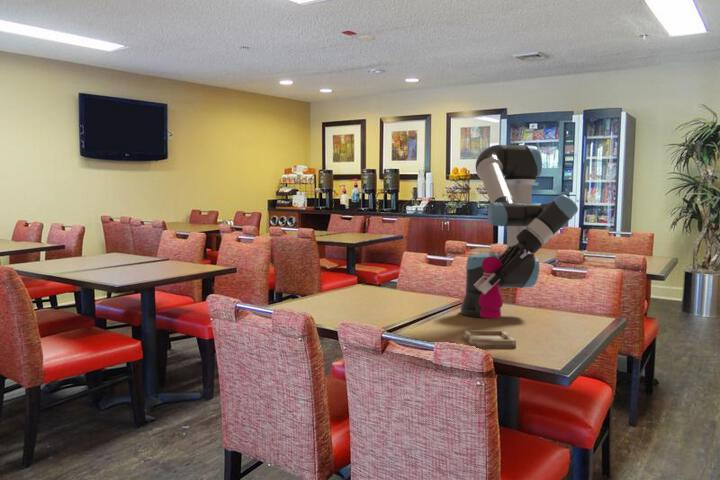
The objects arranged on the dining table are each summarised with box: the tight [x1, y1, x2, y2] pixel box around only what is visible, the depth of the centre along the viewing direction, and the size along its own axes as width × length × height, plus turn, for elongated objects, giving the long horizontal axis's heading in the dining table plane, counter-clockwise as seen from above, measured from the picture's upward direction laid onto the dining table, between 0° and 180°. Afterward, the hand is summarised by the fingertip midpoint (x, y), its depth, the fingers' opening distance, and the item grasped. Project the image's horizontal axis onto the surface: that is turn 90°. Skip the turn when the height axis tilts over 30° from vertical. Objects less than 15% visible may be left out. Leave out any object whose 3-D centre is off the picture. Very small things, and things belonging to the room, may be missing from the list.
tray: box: [462, 329, 517, 349], centre depth 177 cm, size 13×13×2 cm
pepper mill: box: [479, 251, 504, 319], centre depth 175 cm, size 7×7×20 cm
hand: (479, 289), depth 175 cm, fingers closed on pepper mill, 5 cm apart
